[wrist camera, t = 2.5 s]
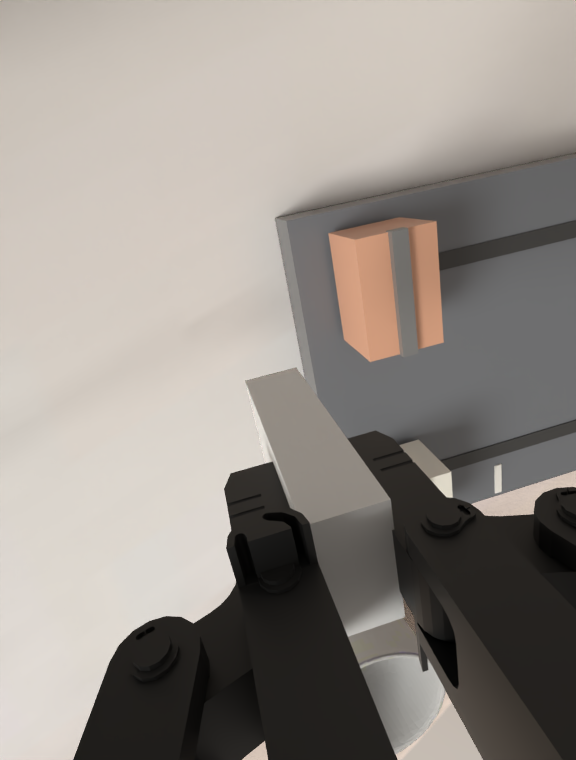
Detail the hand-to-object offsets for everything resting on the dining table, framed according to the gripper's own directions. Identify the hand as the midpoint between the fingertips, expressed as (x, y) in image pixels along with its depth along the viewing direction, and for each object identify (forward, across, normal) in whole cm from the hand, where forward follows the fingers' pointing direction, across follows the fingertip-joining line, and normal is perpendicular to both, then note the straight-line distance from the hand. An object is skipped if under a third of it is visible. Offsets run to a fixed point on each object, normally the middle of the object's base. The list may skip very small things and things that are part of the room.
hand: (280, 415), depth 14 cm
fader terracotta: (+13, +8, 0) cm, 15 cm away
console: (+16, +16, -7) cm, 24 cm away
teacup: (+17, +3, -31) cm, 35 cm away
